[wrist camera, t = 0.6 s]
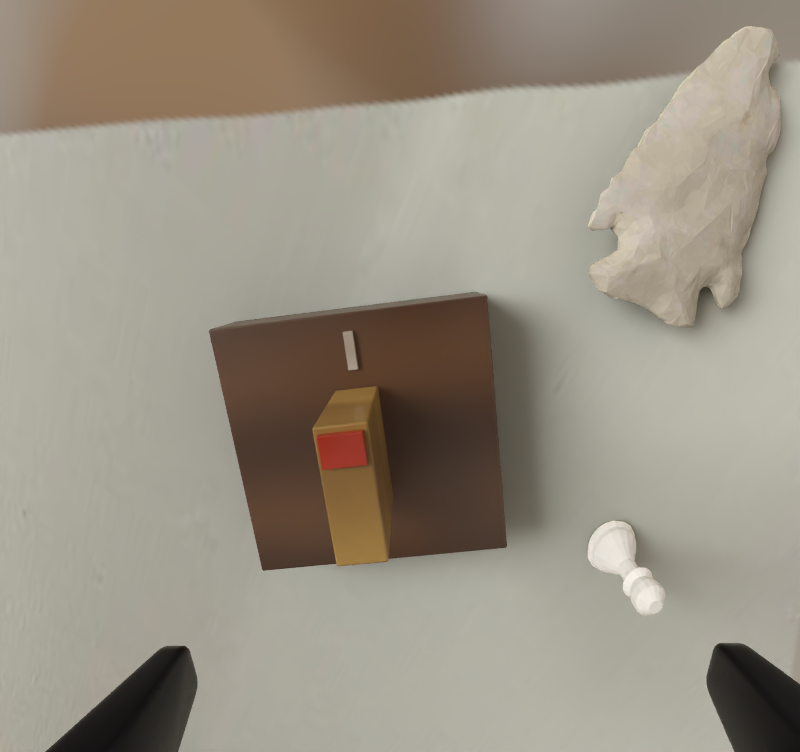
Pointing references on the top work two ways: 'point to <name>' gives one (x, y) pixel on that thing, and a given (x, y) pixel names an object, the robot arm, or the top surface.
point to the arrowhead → (693, 185)
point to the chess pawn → (625, 565)
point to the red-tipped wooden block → (355, 475)
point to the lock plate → (401, 411)
